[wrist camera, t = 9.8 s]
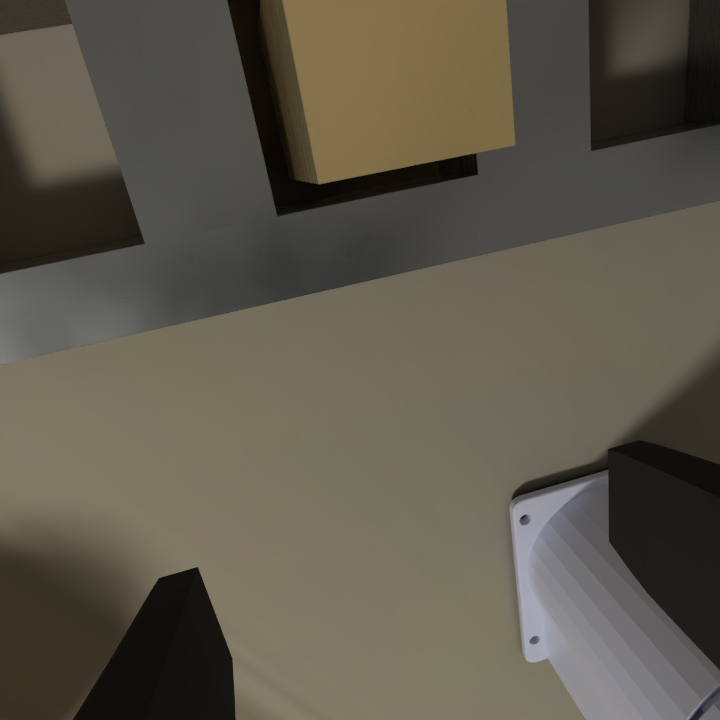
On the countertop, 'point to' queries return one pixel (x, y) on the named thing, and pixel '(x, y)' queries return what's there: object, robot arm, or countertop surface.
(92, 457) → the countertop surface
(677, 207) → the rail
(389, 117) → the brass peg
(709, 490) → the robot arm
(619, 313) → the countertop surface
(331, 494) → the countertop surface
